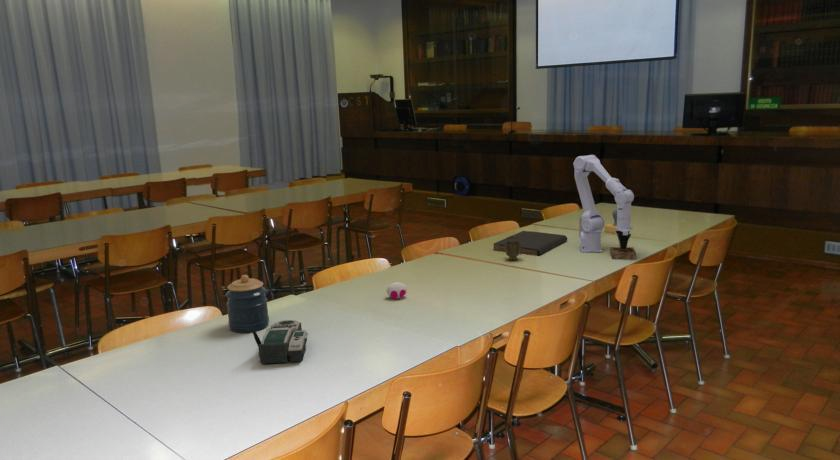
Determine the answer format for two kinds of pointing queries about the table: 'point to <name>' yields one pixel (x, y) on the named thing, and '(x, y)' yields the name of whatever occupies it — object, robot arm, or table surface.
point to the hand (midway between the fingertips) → (622, 247)
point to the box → (622, 253)
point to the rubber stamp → (612, 227)
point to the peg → (621, 249)
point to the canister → (247, 305)
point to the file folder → (532, 242)
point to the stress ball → (396, 290)
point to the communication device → (282, 342)
